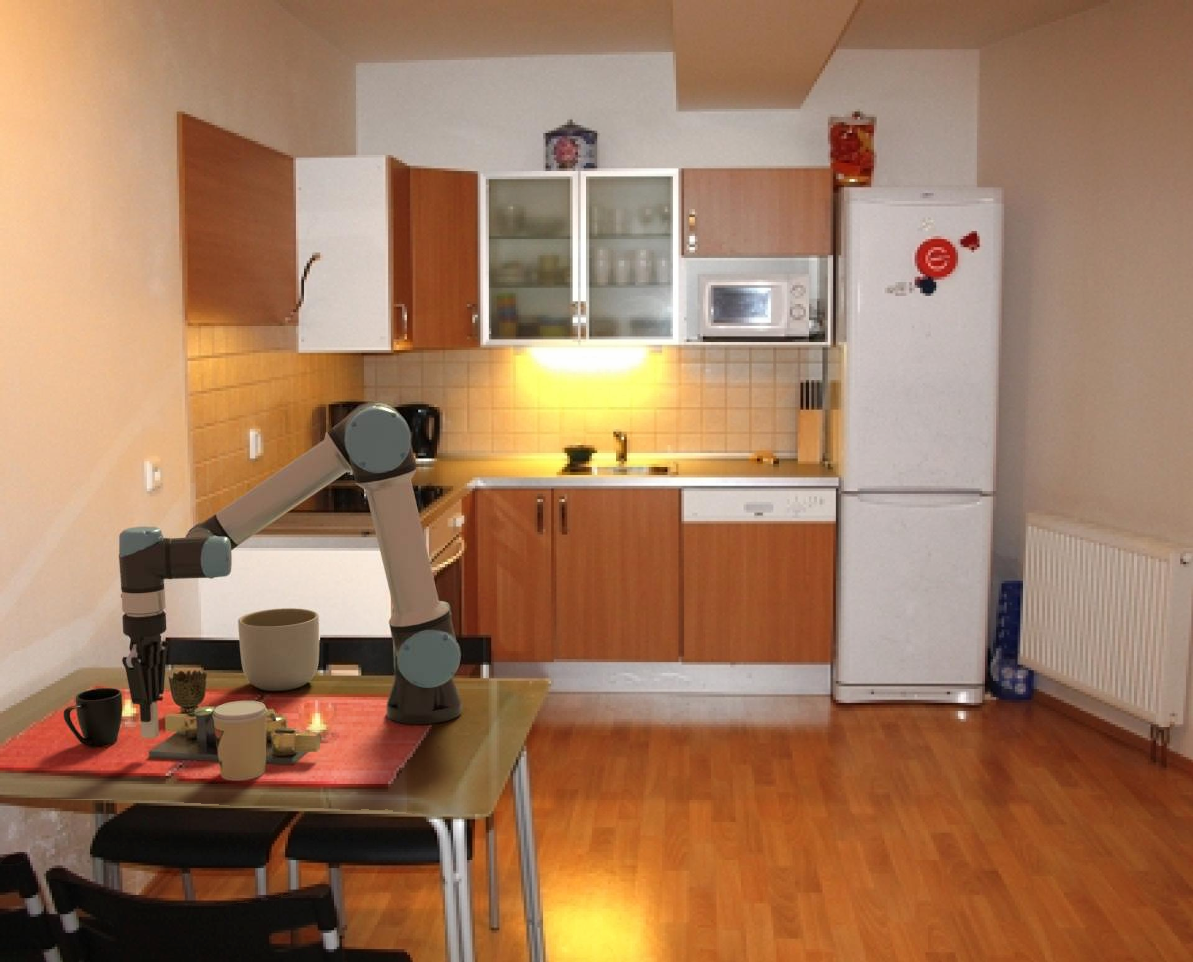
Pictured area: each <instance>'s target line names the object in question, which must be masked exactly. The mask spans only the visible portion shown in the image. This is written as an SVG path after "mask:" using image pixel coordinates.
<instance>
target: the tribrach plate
mask: <svg viewBox="0 0 1193 962" xmlns="http://www.w3.org/2000/svg"><path fill="white" fill-rule="evenodd" d="M218 706H220V705H213V706H210V705H209V706H200V707H199V708H197V709H195V715H196V725H197V738H191V737H187V736H186V735H185V732H174V733H172V735H170V736H169V737H167V738H166V739H165V740H163V741H162V742H160V743H159V744H157V745H156V746H154V747H153V748H151V749H150V750H148V758H149V759H150V758H151V759H167V760H168V759H170V760H186V761H187V760H188V761H191V760H192V761H207V762H210V761H211V762H219V759H218V751H217V743H216V735H215V726H214V719H213V712H214V710H215V708H216V707H218ZM321 740H322V734H321V735H320V741H321ZM307 753H308V751H299V752H297V753H295V754H291V755H275V754H273V753H272V745H271V740H266V764H267V765H268V764H270V765H287V766H289V765H290V766H293V765H295V763H297V762H298V761H299V760H300V759H301V758H302V757H303V756H305V754H307ZM266 764H265V765H266Z"/></svg>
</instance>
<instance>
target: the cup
mask: <svg viewBox="0 0 1193 962" xmlns="http://www.w3.org/2000/svg"><path fill="white" fill-rule="evenodd" d="M207 676H208V673H207V672H205V671H203V672H201V671H200V670H198V671H197V670H196V669H194V670H193V671H192V673H191V670H187V671H186V673H185V672H184V671H182V670H180V671H179V672H177V673H176V672H173V673H172V677H171V676H170V675H168V682H169V683H168V684H169V689H170V694H171V697H172V701H173V702H174V703H175V705H177V706H178V707H180V708H179V711H180V714H189V713H193V712H195V709H197V708H200V707H199V706H200V704H202V702H203V701H204V700H205V697H206V690H207Z"/></svg>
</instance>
